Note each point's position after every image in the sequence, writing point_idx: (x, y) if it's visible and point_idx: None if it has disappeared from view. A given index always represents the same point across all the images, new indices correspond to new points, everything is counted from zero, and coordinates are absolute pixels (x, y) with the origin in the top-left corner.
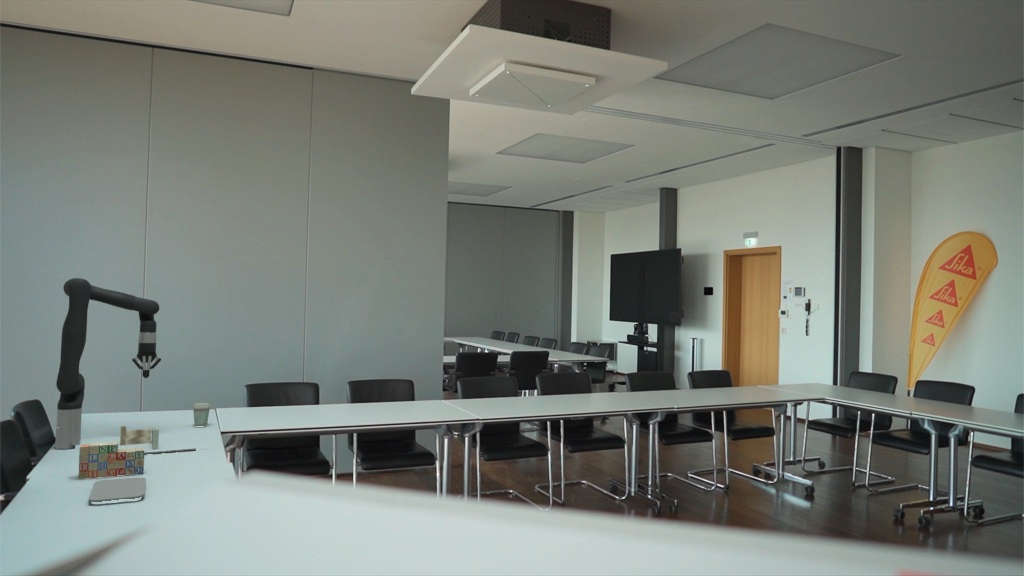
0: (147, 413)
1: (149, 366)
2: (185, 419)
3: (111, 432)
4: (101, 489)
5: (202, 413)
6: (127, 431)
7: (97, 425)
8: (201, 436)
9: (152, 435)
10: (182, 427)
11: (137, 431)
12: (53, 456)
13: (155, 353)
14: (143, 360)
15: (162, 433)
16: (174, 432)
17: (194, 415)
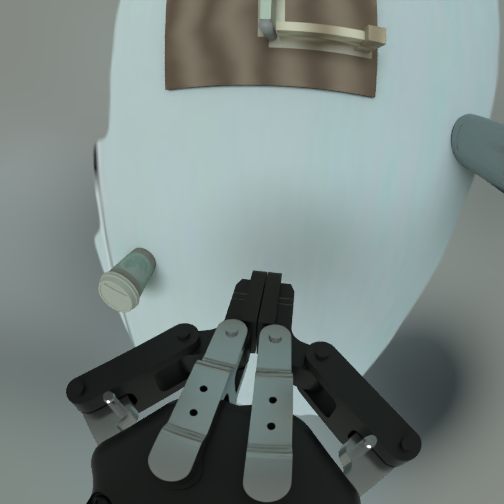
0: (246, 398)
1: (213, 352)
2: None
3: (347, 279)
4: None
5: (121, 265)
6: (359, 30)
7: (347, 354)
8: (135, 125)
9: (273, 19)
10: (181, 266)
11: (324, 25)
12: (497, 57)
13: (94, 483)
14: (280, 434)
15: (230, 210)
16: (199, 210)
17: (142, 275)
